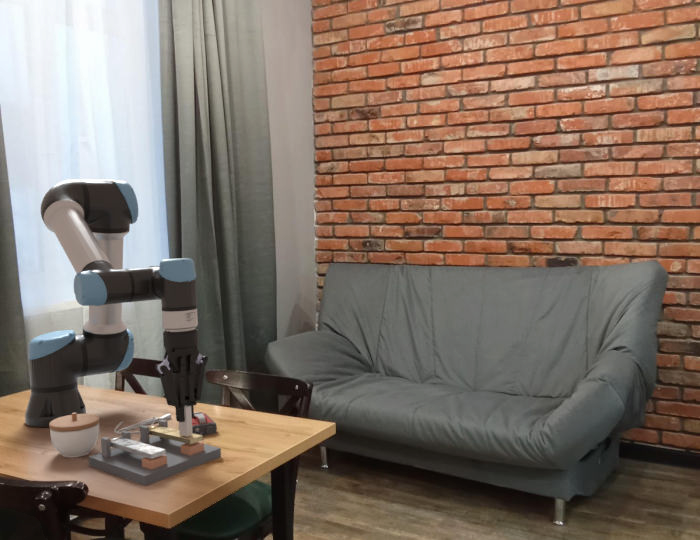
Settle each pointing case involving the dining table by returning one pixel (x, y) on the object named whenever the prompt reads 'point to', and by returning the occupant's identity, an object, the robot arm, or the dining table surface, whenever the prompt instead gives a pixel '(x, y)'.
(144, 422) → the crossbow
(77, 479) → the dining table surface
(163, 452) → the steel strap
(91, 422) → the lidded jar
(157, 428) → the brass strap
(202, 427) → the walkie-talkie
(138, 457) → the mount plate
